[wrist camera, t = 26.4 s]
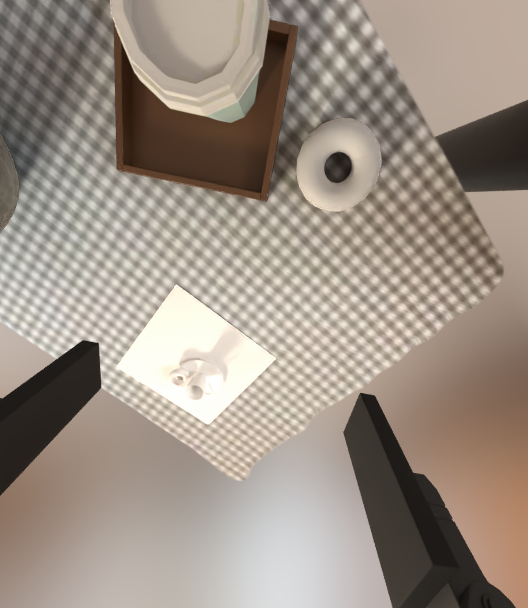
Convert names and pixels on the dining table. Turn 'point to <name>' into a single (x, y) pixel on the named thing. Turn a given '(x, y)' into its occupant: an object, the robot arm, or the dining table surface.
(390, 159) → the dining table surface
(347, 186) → the donut
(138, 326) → the dining table surface
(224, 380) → the white rounded piece
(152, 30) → the disposable coffee cup
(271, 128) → the tray
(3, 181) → the bowl
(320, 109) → the dining table surface
